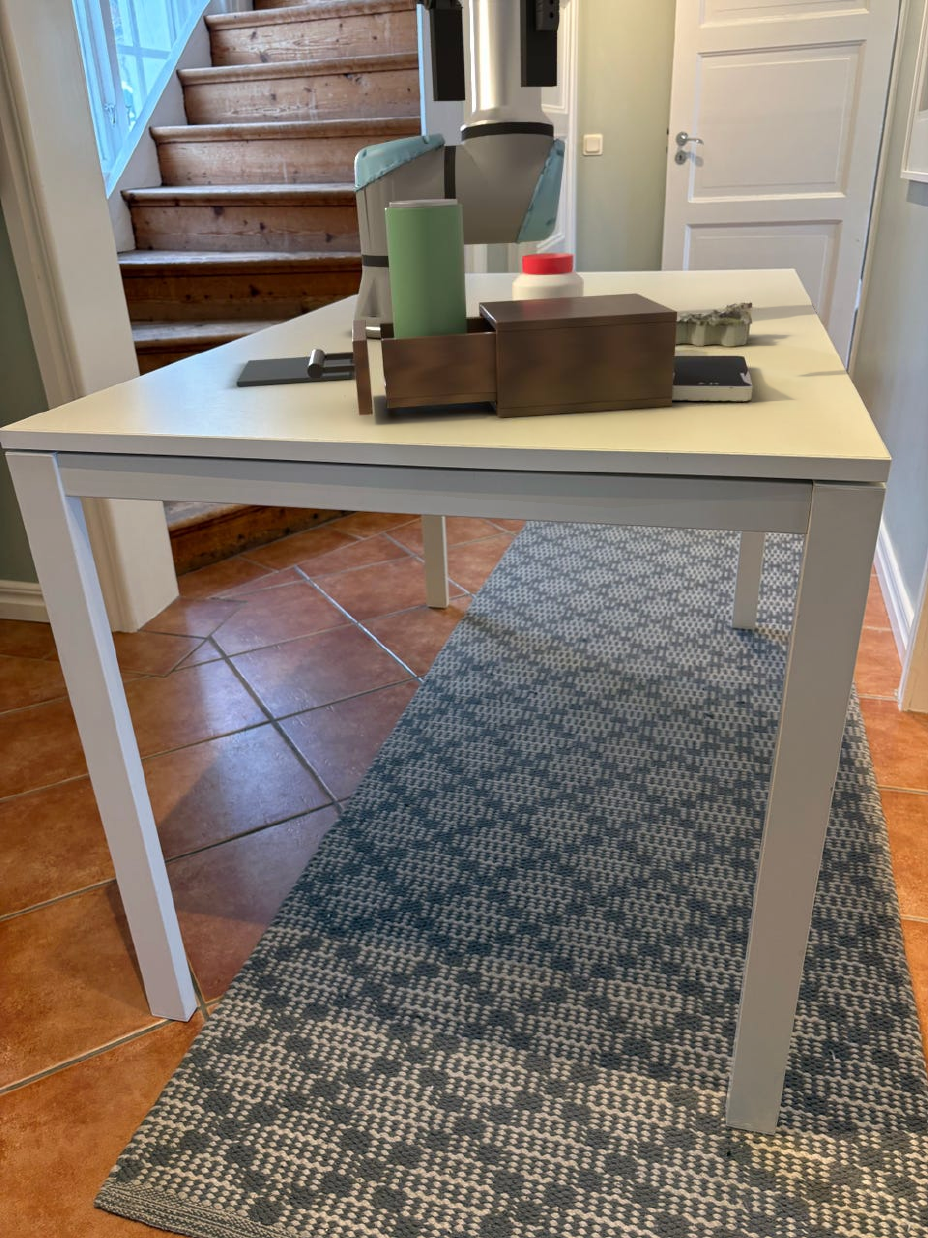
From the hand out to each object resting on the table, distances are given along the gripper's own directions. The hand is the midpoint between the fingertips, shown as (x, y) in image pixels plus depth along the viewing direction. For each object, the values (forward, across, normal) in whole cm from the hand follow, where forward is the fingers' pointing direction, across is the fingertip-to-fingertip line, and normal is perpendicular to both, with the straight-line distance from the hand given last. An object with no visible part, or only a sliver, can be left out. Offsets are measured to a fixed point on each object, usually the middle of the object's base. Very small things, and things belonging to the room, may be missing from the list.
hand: (491, 94), depth 71 cm
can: (+23, -4, -4) cm, 24 cm away
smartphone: (+25, +5, +21) cm, 33 cm away
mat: (+25, -28, -9) cm, 39 cm away
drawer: (+24, -5, -6) cm, 25 cm away
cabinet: (+25, +1, +8) cm, 26 cm away
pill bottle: (+25, -14, +15) cm, 33 cm away
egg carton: (+25, -12, +36) cm, 45 cm away
